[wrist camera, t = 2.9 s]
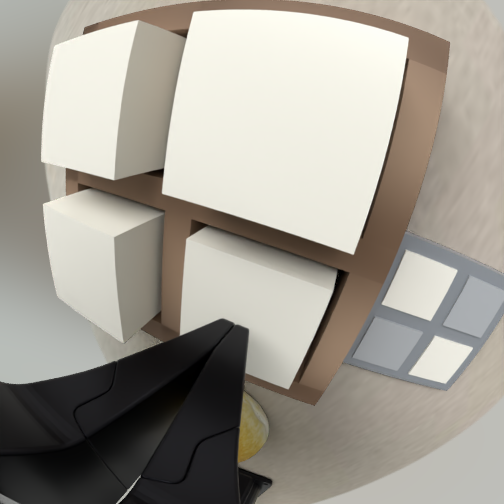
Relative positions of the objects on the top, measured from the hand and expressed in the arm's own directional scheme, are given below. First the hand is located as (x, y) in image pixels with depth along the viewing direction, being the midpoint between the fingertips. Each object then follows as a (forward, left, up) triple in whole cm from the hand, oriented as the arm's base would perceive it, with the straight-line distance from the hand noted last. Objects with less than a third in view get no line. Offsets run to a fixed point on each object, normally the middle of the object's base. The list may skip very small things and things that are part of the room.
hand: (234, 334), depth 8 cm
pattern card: (0, -7, -4) cm, 8 cm away
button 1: (0, 0, -4) cm, 4 cm away
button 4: (+6, +6, -2) cm, 9 cm away
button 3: (0, +6, -2) cm, 6 cm away
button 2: (+6, 0, -2) cm, 6 cm away
